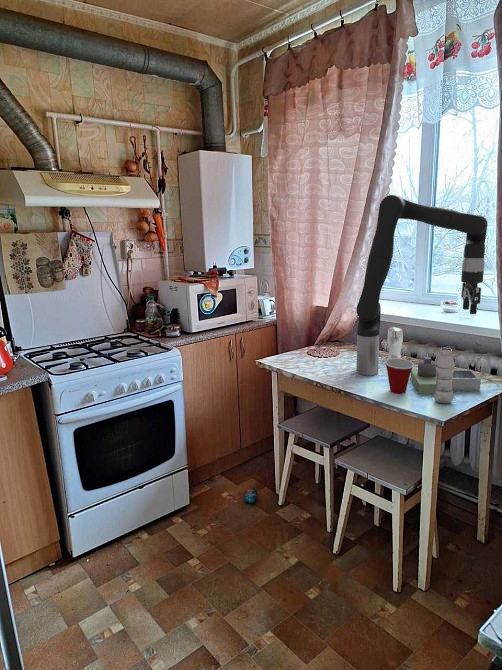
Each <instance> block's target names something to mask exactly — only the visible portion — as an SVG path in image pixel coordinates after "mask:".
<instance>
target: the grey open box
mask: <svg viewBox="0 0 502 670" xmlns="http://www.w3.org/2000/svg"><path fill="white" fill-rule="evenodd" d="M481 381H482V379H481V378H480V377H479V375H478V374H477V373H476V372H475V371H474V370H473V369H454V372H453V378H452V389H453V392H481Z"/></svg>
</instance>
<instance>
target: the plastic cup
mask: <svg viewBox="0 0 502 670" xmlns="http://www.w3.org/2000/svg"><path fill="white" fill-rule="evenodd" d="M384 365H385V366H386V372H387V377H388V384H389V385H388V386H389V390H390V392H391V393H392V394H397V395H402V394H405V393H407V392H406V391H407V388H408V384H409V381H410V377H411V370H412V369H414V368H415V367H414V366H415V364H414V362H413V361H411V360H408V359H405V358H401V359H398V358H391V359H388V358H387V359H385V360H384Z"/></svg>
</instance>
